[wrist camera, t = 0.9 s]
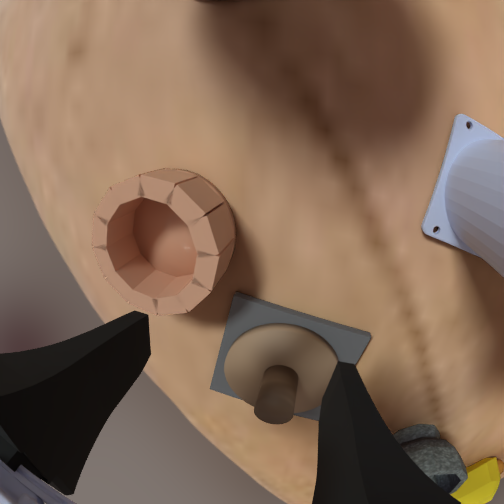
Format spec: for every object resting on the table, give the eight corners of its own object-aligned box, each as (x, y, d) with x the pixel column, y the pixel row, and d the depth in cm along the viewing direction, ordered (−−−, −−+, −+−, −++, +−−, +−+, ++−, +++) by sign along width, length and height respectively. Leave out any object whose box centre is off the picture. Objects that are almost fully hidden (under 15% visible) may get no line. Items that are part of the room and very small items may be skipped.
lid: (358, 342, 20) (363, 386, 16) (314, 414, 23) (310, 455, 19) (240, 307, 21) (222, 346, 17) (218, 386, 24) (202, 425, 20)
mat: (370, 332, 20) (371, 337, 20) (318, 415, 24) (318, 420, 23) (236, 291, 21) (233, 295, 21) (211, 384, 25) (209, 388, 24)
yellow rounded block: (500, 463, 24) (502, 443, 22) (509, 496, 18) (514, 481, 16) (393, 506, 30) (381, 493, 29) (393, 540, 24) (382, 532, 22)
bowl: (250, 187, 18) (232, 199, 15) (221, 301, 22) (202, 333, 18) (133, 157, 19) (97, 164, 16) (122, 264, 22) (92, 286, 19)
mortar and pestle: (351, 440, 25) (347, 546, 14) (437, 398, 21) (464, 510, 10) (394, 474, 26) (396, 556, 15) (463, 441, 23) (482, 525, 12)
